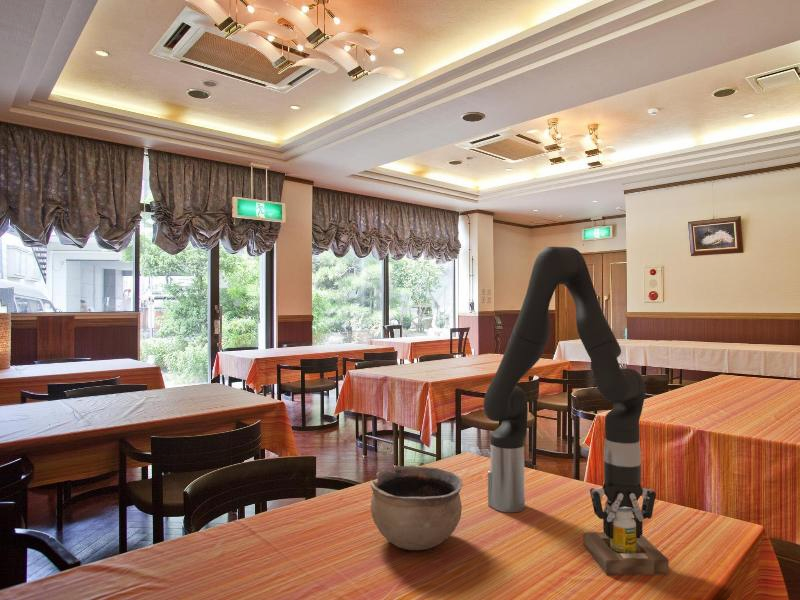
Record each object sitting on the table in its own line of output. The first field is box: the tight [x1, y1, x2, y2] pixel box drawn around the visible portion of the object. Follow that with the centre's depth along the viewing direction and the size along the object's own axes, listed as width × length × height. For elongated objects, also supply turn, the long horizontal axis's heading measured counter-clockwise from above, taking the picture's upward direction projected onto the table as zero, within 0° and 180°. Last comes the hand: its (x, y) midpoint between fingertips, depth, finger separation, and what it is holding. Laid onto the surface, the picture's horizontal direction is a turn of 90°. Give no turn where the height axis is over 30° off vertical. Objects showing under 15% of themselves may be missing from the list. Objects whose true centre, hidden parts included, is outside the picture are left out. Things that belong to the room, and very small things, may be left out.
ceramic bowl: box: [370, 465, 463, 551], centre depth 122 cm, size 22×22×15 cm
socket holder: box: [582, 531, 670, 576], centre depth 113 cm, size 13×13×3 cm
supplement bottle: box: [610, 507, 636, 553], centre depth 113 cm, size 5×5×10 cm
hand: (623, 536), depth 113 cm, fingers closed on supplement bottle, 5 cm apart
